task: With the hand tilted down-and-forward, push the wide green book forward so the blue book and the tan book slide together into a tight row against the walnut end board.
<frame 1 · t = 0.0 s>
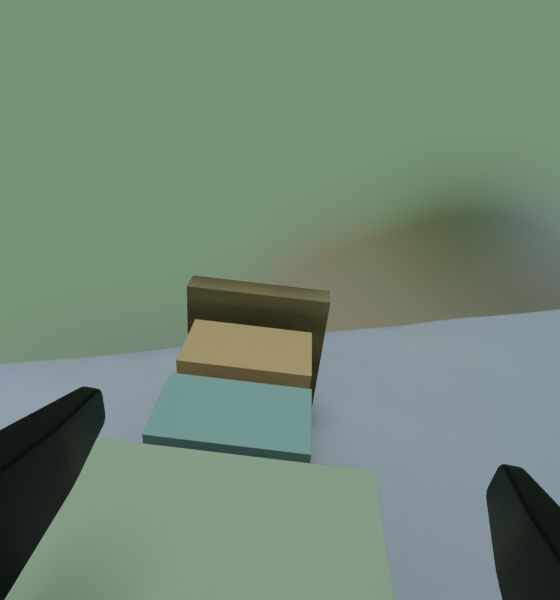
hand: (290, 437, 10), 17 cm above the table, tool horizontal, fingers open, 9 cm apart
blue book: (227, 539, 24), on the table
end board: (249, 414, 33), on the table
tan book: (240, 466, 28), on the table
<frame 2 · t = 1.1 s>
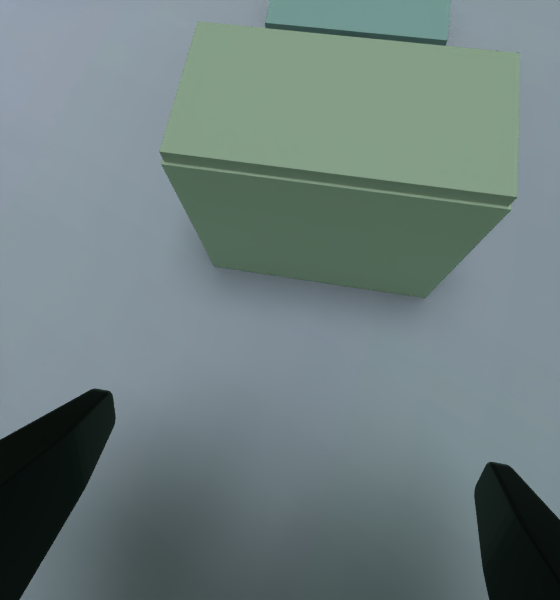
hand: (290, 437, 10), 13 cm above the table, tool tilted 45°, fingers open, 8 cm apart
blue book: (338, 150, 26), on the table
green book: (324, 234, 25), on the table
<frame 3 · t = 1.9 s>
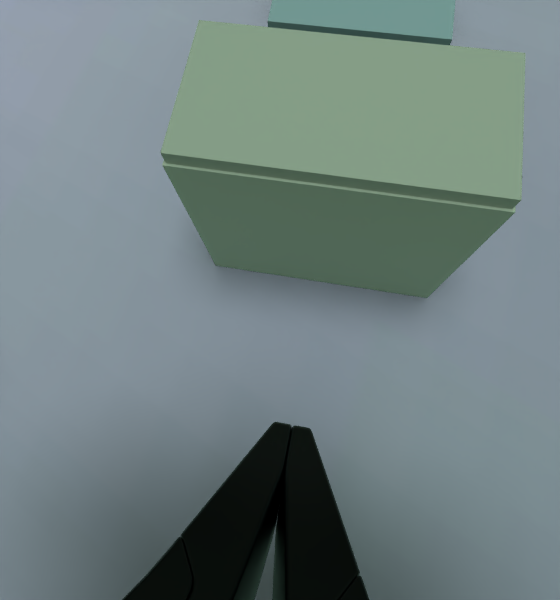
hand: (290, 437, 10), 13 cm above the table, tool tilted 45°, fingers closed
blue book: (340, 148, 26), on the table
green book: (326, 233, 25), on the table
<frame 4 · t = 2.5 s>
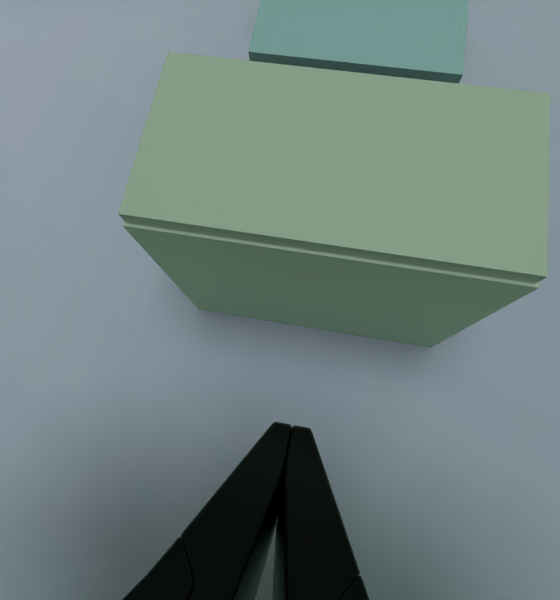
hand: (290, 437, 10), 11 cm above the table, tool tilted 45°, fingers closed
blue book: (336, 177, 24), on the table
green book: (320, 273, 23), on the table
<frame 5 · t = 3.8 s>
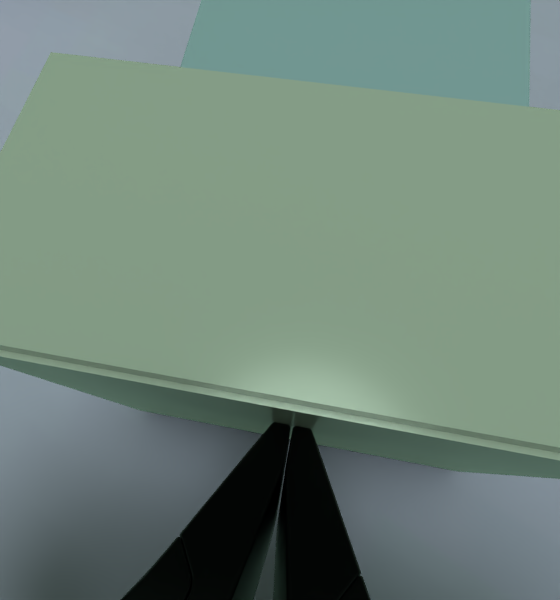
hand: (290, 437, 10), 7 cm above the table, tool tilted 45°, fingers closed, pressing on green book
blue book: (326, 236, 18), on the table
green book: (306, 361, 17), on the table, touching gripper
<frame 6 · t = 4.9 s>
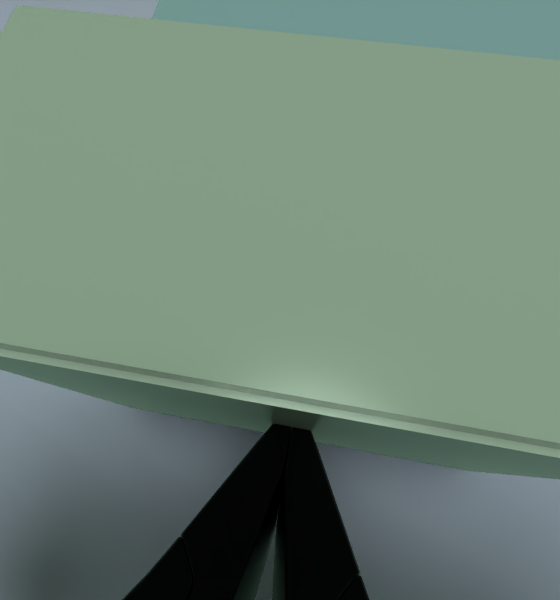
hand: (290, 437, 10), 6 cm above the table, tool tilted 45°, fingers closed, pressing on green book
blue book: (326, 232, 17), on the table, tilted 6°, touching green book, tan book
green book: (306, 355, 16), on the table, tilted 6°, touching blue book, gripper
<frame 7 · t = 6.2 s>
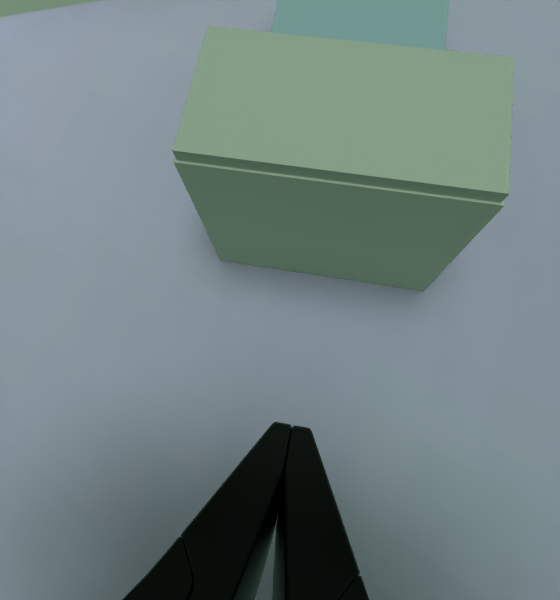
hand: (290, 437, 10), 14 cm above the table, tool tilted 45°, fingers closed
blue book: (338, 158, 27), on the table
green book: (327, 229, 26), on the table
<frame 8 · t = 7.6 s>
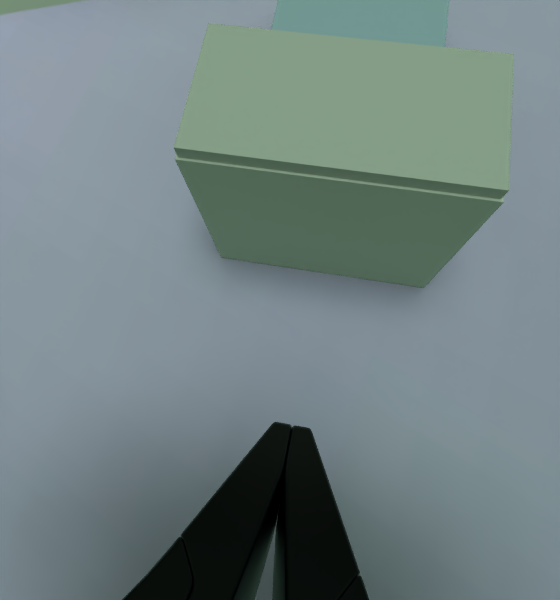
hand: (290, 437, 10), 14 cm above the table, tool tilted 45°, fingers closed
blue book: (339, 155, 27), on the table, touching tan book
green book: (327, 226, 26), on the table
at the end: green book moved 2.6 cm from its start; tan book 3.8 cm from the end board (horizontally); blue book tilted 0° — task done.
